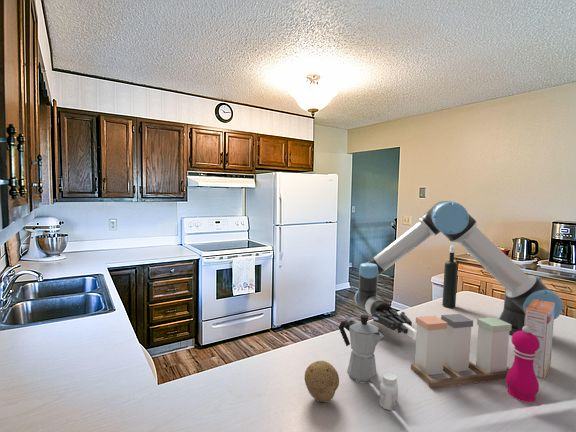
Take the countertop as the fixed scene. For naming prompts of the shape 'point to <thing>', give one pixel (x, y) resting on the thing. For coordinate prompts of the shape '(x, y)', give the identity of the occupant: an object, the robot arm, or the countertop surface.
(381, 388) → the pill bottle
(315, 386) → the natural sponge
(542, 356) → the cracker box
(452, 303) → the wine bottle
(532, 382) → the pepper mill
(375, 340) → the coffee maker
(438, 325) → the orange lidded canister
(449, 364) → the gray lidded canister
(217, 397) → the countertop surface
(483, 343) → the green lidded canister
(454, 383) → the wooden stand
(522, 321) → the robot arm
